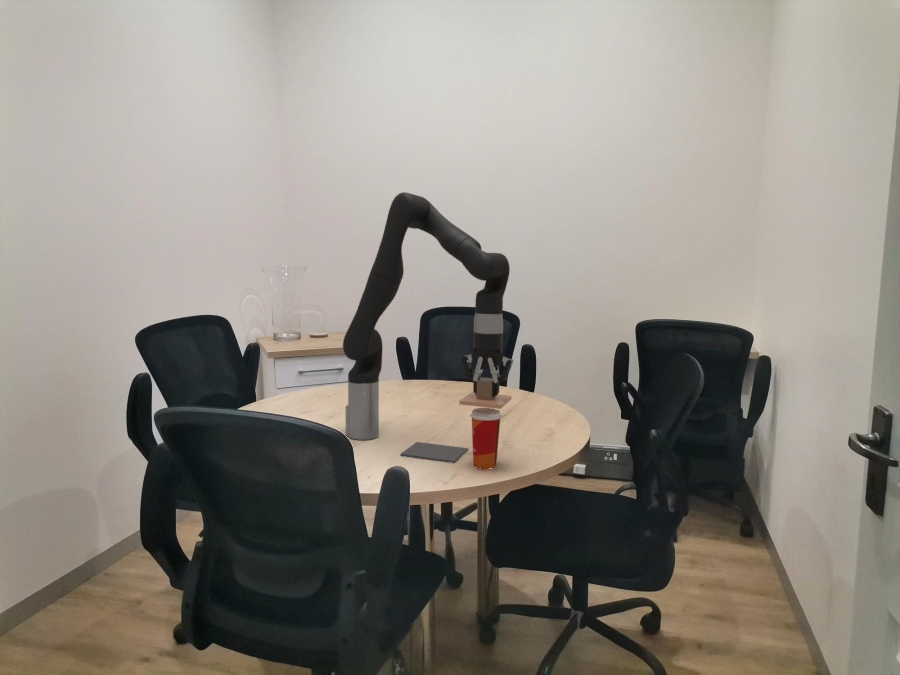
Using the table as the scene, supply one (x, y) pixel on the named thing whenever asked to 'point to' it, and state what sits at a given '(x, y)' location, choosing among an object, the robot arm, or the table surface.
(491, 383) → the cover
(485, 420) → the coffee cup
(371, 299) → the robot arm
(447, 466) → the table surface
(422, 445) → the mat
